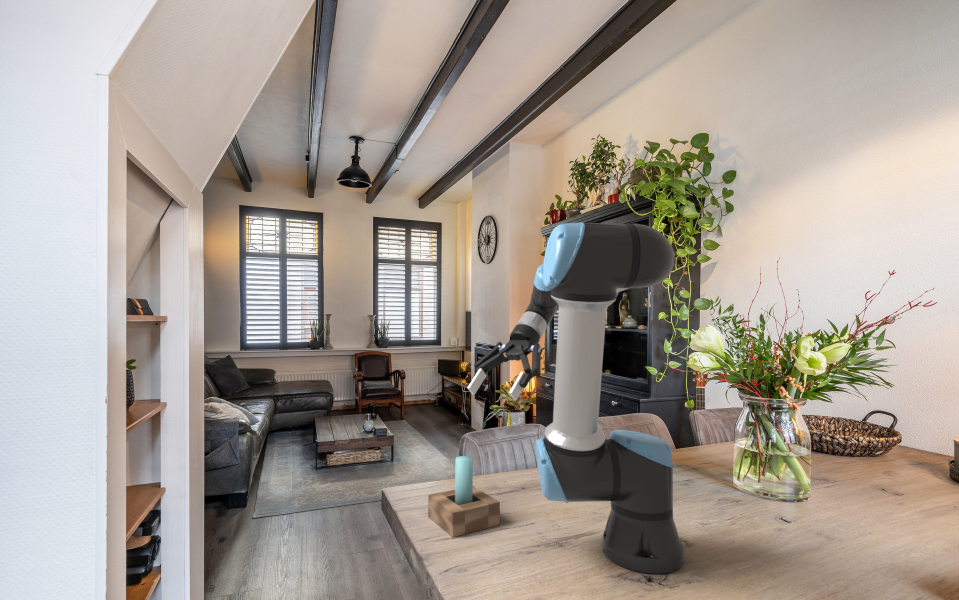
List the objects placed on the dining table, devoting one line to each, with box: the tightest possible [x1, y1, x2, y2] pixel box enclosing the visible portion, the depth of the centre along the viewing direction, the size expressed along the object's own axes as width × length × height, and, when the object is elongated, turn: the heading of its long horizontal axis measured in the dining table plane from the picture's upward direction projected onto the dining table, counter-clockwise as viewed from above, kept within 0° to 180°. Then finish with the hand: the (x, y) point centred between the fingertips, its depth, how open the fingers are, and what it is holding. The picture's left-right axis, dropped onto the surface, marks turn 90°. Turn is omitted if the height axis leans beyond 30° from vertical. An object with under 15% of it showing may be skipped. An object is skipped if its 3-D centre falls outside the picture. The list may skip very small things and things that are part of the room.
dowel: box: [454, 455, 474, 505], centre depth 106 cm, size 4×4×14 cm
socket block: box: [427, 486, 501, 538], centre depth 105 cm, size 12×12×5 cm
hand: (490, 394), depth 112 cm, fingers open, 13 cm apart
